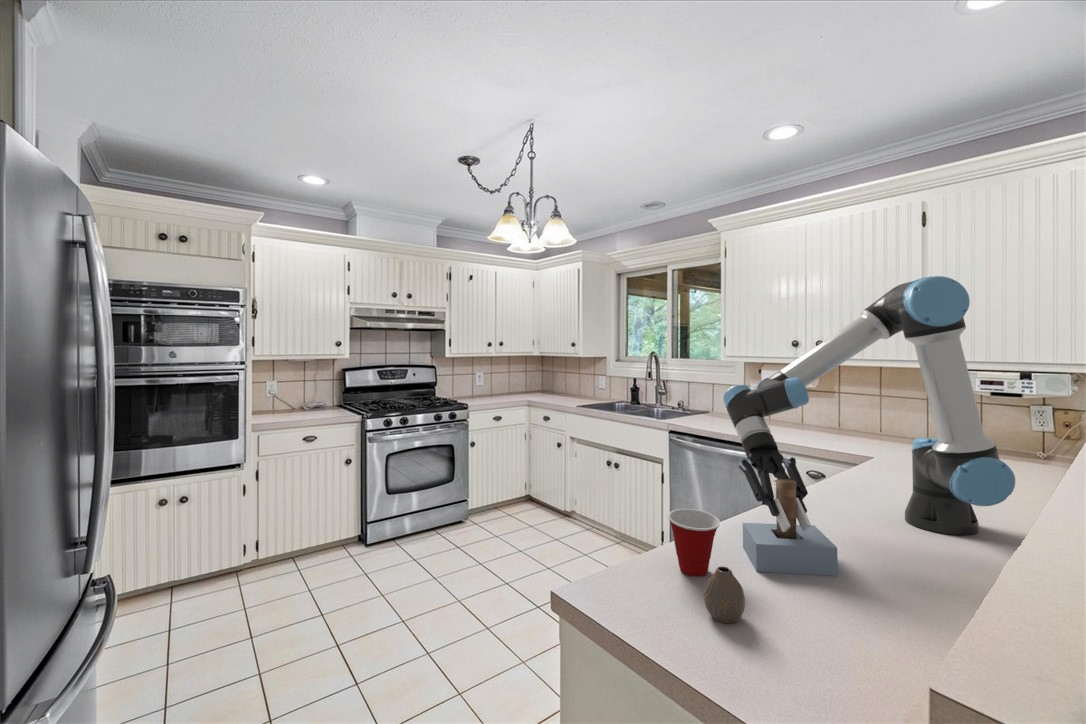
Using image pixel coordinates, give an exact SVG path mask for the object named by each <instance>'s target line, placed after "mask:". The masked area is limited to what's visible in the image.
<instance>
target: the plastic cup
mask: <svg viewBox="0 0 1086 724" xmlns="http://www.w3.org/2000/svg"><path fill="white" fill-rule="evenodd" d="M667 517H668V520H669V522H670V526H671V531H672V535H673V539H674V540H673V541H674V547H675V551H676V552H675V553H676V554H675V555H676V557H677V562H678V567H679V569H680V572H681V573H682V574H684V575H686V576H688V577H699V578H700V577H704V576H707V574H708V571H709V566H710V560H711V555H712V550H713V544H714V539H715V535H716V533H717V529H718V528H719V527H720V525H721V520H720V519H719V518H718V517H717V516H715V515H713V514H711V513H710V512H707V511H704V510H700V509H693V508H678V509H673V510H671V511H669V512H668V516H667Z"/></svg>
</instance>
